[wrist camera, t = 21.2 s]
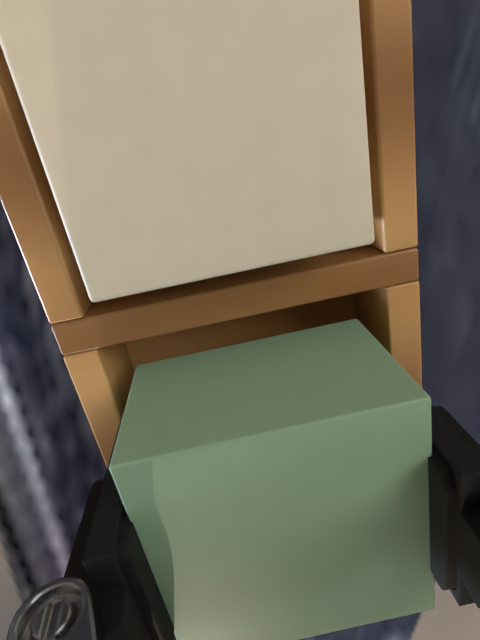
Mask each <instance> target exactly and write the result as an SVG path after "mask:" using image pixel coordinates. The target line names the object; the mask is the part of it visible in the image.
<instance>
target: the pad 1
mask: <svg viewBox="0 0 480 640" xmlns="http://www.w3.org/2000/svg"><path fill="white" fill-rule="evenodd" d="M0 45H1V47H2V50H3V53H4V56H5V59H6V62H7V65H8V67H9V70H10V73H11V76H12V79H13V82H14V85H15V87H16V90H17V93H18V96H19V99H20V102H21V105H22V107H23V110H24V113H25V116H26V119H27V122H28V125H29V127H30V130H31V133H32V136H33V139H34V142H35V144H36V147H37V150H38V153H39V156H40V159H41V162H42V164H43V167H44V170H45V173H46V176H47V179H48V182H49V184H50V187H51V190H52V193H53V196H54V199H55V202H56V204H57V207H58V210H59V213H60V216H61V219H62V222H63V224H64V227H65V230H66V233H67V236H68V239H69V241H70V244H71V247H72V250H73V253H74V256H75V259H76V261H77V264H78V267H79V270H80V273H81V276H82V279H83V281H84V284H85V287H86V290H87V293H88V296H89V299H90V300H91V301H92V302H100V301H105V300H109V299H114V298H119V297H123V296H128V295H133V294H138V293H142V292H147V291H152V290H156V289H161V288H166V287H171V286H175V285H180V284H185V283H190V282H194V281H199V280H204V279H208V278H213V277H218V276H223V275H227V274H232V273H237V272H241V271H246V270H251V269H256V268H260V267H265V266H270V265H275V264H279V263H284V262H289V261H293V260H298V259H303V258H308V257H312V256H317V255H322V254H326V253H331V252H336V251H341V250H345V249H350V248H355V247H360V246H364V245H369V244H371V243H373V242H374V239H375V238H374V223H373V208H372V193H371V178H370V163H369V148H368V133H367V118H366V103H365V88H364V73H363V58H362V43H361V28H360V13H359V0H0Z"/></svg>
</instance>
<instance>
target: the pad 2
mask: <svg viewBox="0 0 480 640" xmlns="http://www.w3.org/2000/svg"><path fill="white" fill-rule="evenodd" d="M431 456H432V423H431V398H430V396H429V395H428V394H427V393H426V392H425V391H424V390H423V389H422V388H421V386H420V385H419V384H418V383H417V382H416V381H415V380H414V379H413V378H412V377H411V376H410V375H409V374H408V373H407V371H406V370H405V369H404V368H403V367H402V366H401V365H400V364H399V363H398V362H397V361H396V360H395V359H394V358H393V357H392V355H391V354H390V353H389V352H388V351H387V350H386V349H385V348H384V347H383V346H382V345H381V344H380V343H379V342H378V341H377V339H376V338H375V337H374V336H373V335H372V334H371V333H370V332H369V331H368V330H367V329H366V328H365V327H364V326H363V324H362V323H361V322H360V321H359V320H358V319H352V320H347V321H343V322H338V323H333V324H329V325H324V326H319V327H315V328H310V329H305V330H301V331H296V332H291V333H287V334H282V335H277V336H273V337H268V338H263V339H259V340H254V341H249V342H245V343H240V344H235V345H231V346H226V347H221V348H217V349H212V350H207V351H203V352H198V353H193V354H189V355H184V356H179V357H175V358H170V359H165V360H161V361H156V362H151V363H147V364H142V365H138V366H137V367H136V370H135V374H134V378H133V381H132V385H131V388H130V392H129V396H128V399H127V403H126V407H125V410H124V414H123V418H122V421H121V425H120V429H119V432H118V436H117V439H116V443H115V447H114V450H113V454H112V458H111V461H110V465H109V470H110V472H111V475H112V477H113V480H114V483H115V485H116V488H117V490H118V493H119V495H120V498H121V500H122V503H123V505H124V508H125V510H126V513H127V515H128V518H129V520H130V522H133V524H134V527H135V529H136V532H137V534H138V537H139V539H140V542H141V544H142V547H143V550H144V552H145V555H146V557H147V560H148V562H149V565H150V567H151V570H152V572H153V575H154V577H155V580H156V583H157V585H158V588H159V590H160V593H161V595H162V598H163V600H164V603H165V605H166V608H167V610H168V613H169V616H170V618H171V621H172V623H173V626H174V634H175V636H176V639H177V640H298V639H302V638H307V637H311V636H316V635H320V634H325V633H329V632H334V631H338V630H342V629H347V628H351V627H356V626H360V625H365V624H369V623H373V622H378V621H382V620H387V619H391V618H396V617H400V616H405V615H409V614H413V613H418V612H422V611H427V610H431V609H434V607H435V598H434V597H435V596H434V576H433V574H432V572H431V570H430V528H429V483H428V457H431Z"/></svg>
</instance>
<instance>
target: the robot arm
mask: <svg viewBox="0 0 480 640" xmlns="http://www.w3.org/2000/svg"><path fill="white" fill-rule="evenodd" d="M431 423H432V456H431V457H428V483H429V528H430V570H431V572H432V574H433V576H434V577H435V579H436V581H437V583H438V585H439V586H440V587H441V589H442V590H448V589H450V590H451V592H452V594H453V596H454V597H455V599H456V601H457V603H458V604H459V606H462V605H466V604H471V603H476V605H477V606H478V608H480V445H479V444H478V443H477V442H476V441H475V440H474V439H473V438H472V437H471V436H470V435H469V434H468V433H467V432H466V430H465V429H464V428H463V427H462V426H461V425H460V424H459V423H458V422H457V421H456V420H455V419H454V418H453V417H452V416H451V415H450V414H449V412H448V411H447V410H445V409H444V408H443V407H440V406H437V407H433V406H432V405H431ZM120 425H121V423H120V424H119V428H118V431H117V435H116V438H115V442H114V446H113V449H112V453H111V456H110V460H109V463H108V467H107V471H106V474H105V478H104V479H102V480H97V481H95V482H94V483H93V486H92V488H91V491H90V494H89V497H88V501H87V504H86V507H85V510H84V513H83V517H82V520H81V523H80V526H79V530H78V533H77V536H76V539H75V543H74V546H73V549H72V552H71V556H70V559H69V562H68V565H67V568H66V572H65V575H64V578H59V579H57V580H54V581H51V582H49V583H47V584H46V585H44V586H42V587H41V588H39V589H38V590H36V591H35V592H34V593H33V594H32V595H31V596H30V597H29V598H27V599H26V600H25V602H24V603H23V604H22V606H21V607H20V608H19V609H18V611H17V612H16V614H15V616H14V618H13V620H12V622H11V624H10V627H9V631H8V635H7V640H174V626H173V623H172V621H171V618H170V616H169V613H168V610H167V608H166V605H165V603H164V600H163V598H162V595H161V593H160V590H159V588H158V585H157V583H156V580H155V577H154V575H153V572H152V570H151V567H150V565H149V562H148V560H147V557H146V555H145V552H144V550H143V547H142V544H141V542H140V539H139V537H138V534H137V532H136V529H135V527H134V524H133V522H130V520H129V518H128V515H127V513H126V510H125V508H124V505H123V503H122V500H121V498H120V495H119V493H118V490H117V488H116V485H115V483H114V480H113V477H112V475H111V472H110V470H109V465H110V461H111V458H112V454H113V450H114V447H115V443H116V439H117V436H118V432H119V429H120Z"/></svg>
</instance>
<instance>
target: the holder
mask: <svg viewBox="0 0 480 640" xmlns="http://www.w3.org/2000/svg"><path fill="white" fill-rule="evenodd" d="M359 13H360V28H361V43H362V58H363V73H364V88H365V103H366V118H367V133H368V148H369V163H370V178H371V193H372V208H373V223H374V238H375V239H374V242H373V243H371V244H369V245H364V246H360V247H355V248H350V249H345V250H341V251H336V252H331V253H326V254H322V255H317V256H312V257H308V258H303V259H298V260H293V261H289V262H284V263H279V264H275V265H270V266H265V267H260V268H256V269H251V270H246V271H241V272H237V273H232V274H227V275H223V276H218V277H213V278H208V279H204V280H199V281H194V282H190V283H185V284H180V285H175V286H171V287H166V288H161V289H156V290H152V291H147V292H142V293H138V294H133V295H128V296H123V297H119V298H114V299H109V300H105V301H100V302H92V301H91V300H90V299H89V296H88V293H87V290H86V287H85V284H84V281H83V279H82V276H81V273H80V270H79V267H78V264H77V261H76V259H75V256H74V253H73V250H72V247H71V244H70V241H69V239H68V236H67V233H66V230H65V227H64V224H63V222H62V219H61V216H60V213H59V210H58V207H57V204H56V202H55V199H54V196H53V193H52V190H51V187H50V184H49V182H48V179H47V176H46V173H45V170H44V167H43V164H42V162H41V159H40V156H39V153H38V150H37V147H36V144H35V142H34V139H33V136H32V133H31V130H30V127H29V125H28V122H27V119H26V116H25V113H24V110H23V107H22V105H21V102H20V99H19V96H18V93H17V90H16V87H15V85H14V82H13V79H12V76H11V73H10V70H9V67H8V65H7V62H6V59H5V56H4V53H3V50H2V47H1V45H0V200H1V203H2V205H3V208H4V210H5V213H6V215H7V218H8V220H9V223H10V225H11V228H12V230H13V233H14V235H15V238H16V240H17V243H18V245H19V248H20V250H21V253H22V255H23V258H24V260H25V263H26V265H27V268H28V270H29V273H30V275H31V278H32V280H33V283H34V285H35V288H36V290H37V293H38V295H39V298H40V300H41V303H42V305H43V308H44V310H45V313H46V315H47V318H48V320H49V322H50V323H51V324H52V326H51V328H52V331H53V333H54V336H55V338H56V341H57V343H58V346H59V348H60V351H61V353H62V355H65V356H64V361H65V364H66V366H67V369H68V371H69V374H70V376H71V379H72V381H73V384H74V386H75V389H76V391H77V394H78V396H79V399H80V401H81V404H82V406H83V409H84V411H85V414H86V416H87V419H88V421H89V424H90V426H91V429H92V431H93V434H94V436H95V439H96V441H97V444H98V446H99V449H100V451H101V454H102V456H103V459H104V461H105V464H106V466H107V467H108V463H109V460H110V456H111V453H112V449H113V446H114V442H115V438H116V435H117V431H118V428H119V424H120V423H121V421H122V418H123V414H124V410H125V407H126V403H127V399H128V396H129V392H130V388H131V385H132V381H133V378H134V374H135V370H136V367H137V366H138V365H142V364H147V363H151V362H156V361H161V360H165V359H170V358H175V357H179V356H184V355H189V354H193V353H198V352H203V351H207V350H212V349H217V348H221V347H226V346H231V345H235V344H240V343H245V342H249V341H254V340H259V339H263V338H268V337H273V336H277V335H282V334H287V333H291V332H296V331H301V330H305V329H310V328H315V327H319V326H324V325H329V324H333V323H338V322H343V321H347V320H352V319H358V320H359V321H360V322H361V323H362V324H363V326H364V327H365V328H366V329H367V330H368V331H369V332H370V333H371V334H372V335H373V336H374V337H375V338H376V339H377V341H378V342H379V343H380V344H381V345H382V346H383V347H384V348H385V349H386V350H387V351H388V352H389V353H390V354H391V355H392V357H393V358H394V359H395V360H396V361H397V362H398V363H399V364H400V365H401V366H402V367H403V368H404V369H405V370H406V371H407V373H408V374H409V375H410V376H411V377H412V378H413V379H414V380H415V381H416V382H417V383H418V384H419V385H420V386H421V388H422V366H421V328H420V290H419V281H418V278H419V268H418V249H417V248H416V246H417V244H418V233H417V196H416V158H415V121H414V83H413V46H412V9H411V0H359Z"/></svg>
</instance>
